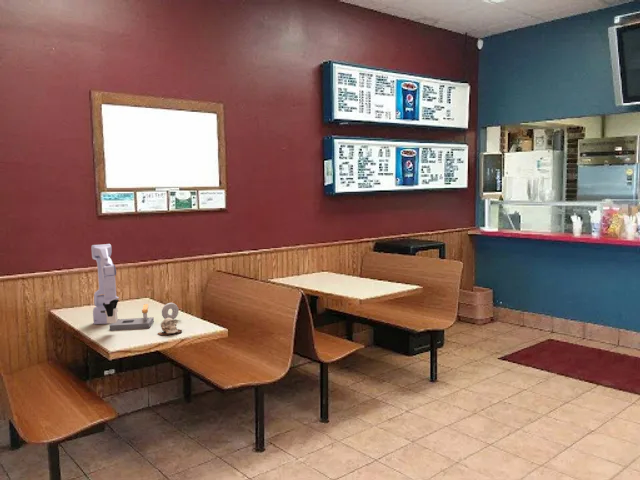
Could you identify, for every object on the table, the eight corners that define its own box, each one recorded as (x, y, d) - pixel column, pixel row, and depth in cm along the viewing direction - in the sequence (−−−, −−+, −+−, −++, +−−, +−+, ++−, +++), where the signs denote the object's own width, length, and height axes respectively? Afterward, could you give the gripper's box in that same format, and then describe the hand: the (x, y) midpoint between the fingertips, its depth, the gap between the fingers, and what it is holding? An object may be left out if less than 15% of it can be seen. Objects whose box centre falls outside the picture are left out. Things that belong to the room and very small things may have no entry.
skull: (188, 330, 279) (175, 318, 274) (174, 346, 275) (161, 334, 270) (176, 325, 288) (164, 313, 283) (163, 341, 284) (150, 329, 278)
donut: (164, 322, 301) (163, 304, 300) (160, 321, 303) (159, 303, 302) (180, 319, 308) (179, 301, 307) (176, 318, 310) (176, 300, 309)
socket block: (109, 330, 287) (108, 317, 287) (116, 323, 301) (115, 311, 301) (149, 328, 290) (148, 315, 289) (153, 321, 304) (153, 309, 303)
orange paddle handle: (143, 307, 310) (143, 304, 309) (149, 306, 310) (148, 303, 310) (141, 313, 294) (141, 310, 294) (147, 312, 295) (147, 310, 294)
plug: (100, 324, 278) (99, 311, 277) (102, 321, 283) (101, 309, 282) (116, 323, 279) (115, 310, 278) (118, 320, 284) (117, 308, 283)
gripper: (114, 291, 273) (116, 318, 274) (121, 286, 287) (123, 311, 289) (99, 291, 272) (101, 318, 273) (107, 286, 286) (109, 312, 288)
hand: (111, 315), depth 281 cm, fingers closed on plug, 5 cm apart
